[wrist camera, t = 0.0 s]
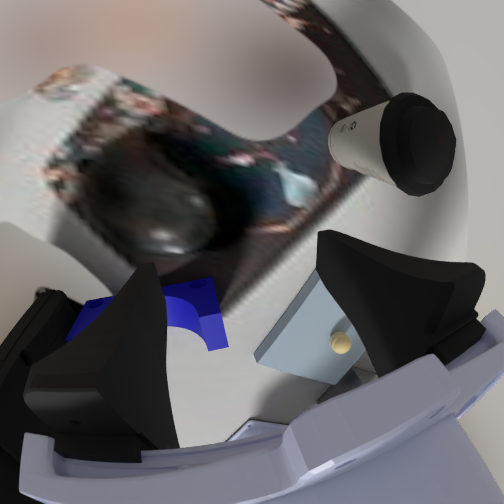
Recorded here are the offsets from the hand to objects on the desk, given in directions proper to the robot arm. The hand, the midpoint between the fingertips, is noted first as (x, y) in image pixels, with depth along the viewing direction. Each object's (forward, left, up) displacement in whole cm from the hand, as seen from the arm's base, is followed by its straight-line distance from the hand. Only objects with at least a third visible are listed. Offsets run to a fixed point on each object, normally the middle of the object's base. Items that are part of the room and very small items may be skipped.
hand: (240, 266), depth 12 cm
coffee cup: (+12, -6, -11) cm, 17 cm away
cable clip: (-10, +1, -11) cm, 15 cm away
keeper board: (-4, -16, -11) cm, 20 cm away
